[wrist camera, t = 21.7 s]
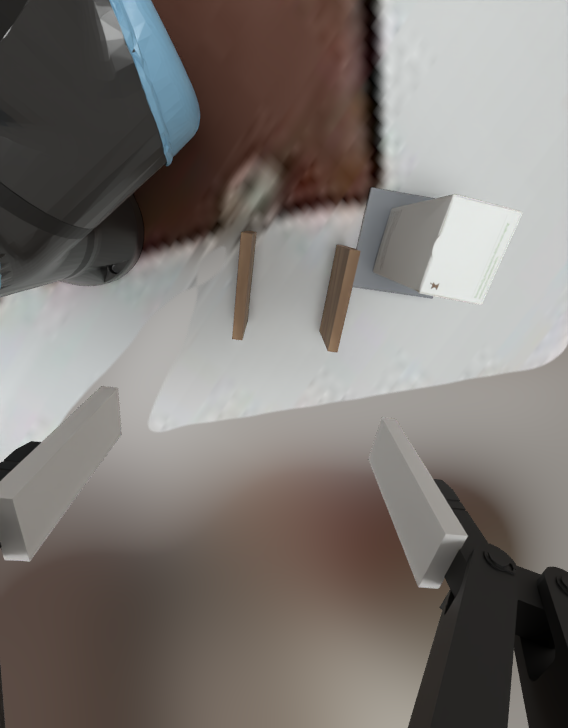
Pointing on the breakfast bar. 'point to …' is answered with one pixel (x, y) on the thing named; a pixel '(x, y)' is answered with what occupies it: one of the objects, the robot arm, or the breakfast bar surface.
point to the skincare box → (446, 246)
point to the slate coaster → (380, 240)
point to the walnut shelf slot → (335, 297)
